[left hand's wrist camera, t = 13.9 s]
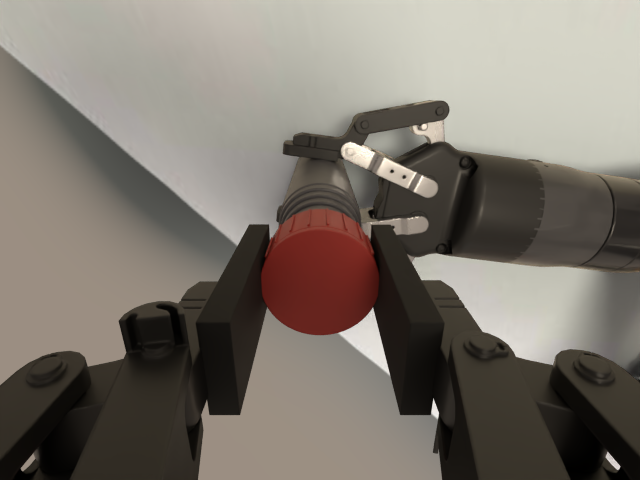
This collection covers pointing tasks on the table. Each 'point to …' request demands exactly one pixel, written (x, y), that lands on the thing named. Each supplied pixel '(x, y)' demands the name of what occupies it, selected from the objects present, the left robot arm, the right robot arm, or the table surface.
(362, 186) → the table surface
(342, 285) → the cap
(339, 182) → the bottle
